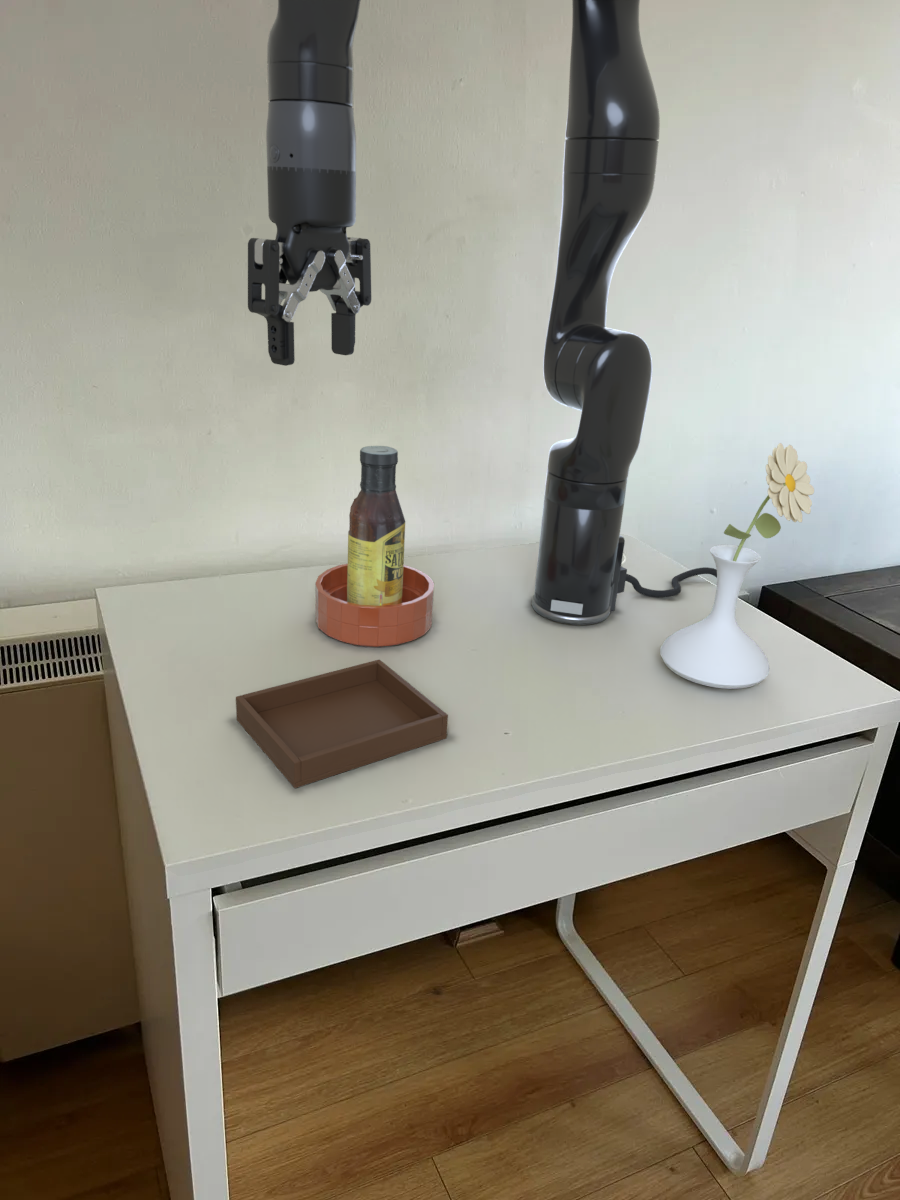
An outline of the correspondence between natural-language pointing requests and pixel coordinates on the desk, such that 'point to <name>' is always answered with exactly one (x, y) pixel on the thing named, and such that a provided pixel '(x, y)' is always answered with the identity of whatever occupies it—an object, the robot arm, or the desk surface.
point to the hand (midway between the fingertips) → (314, 358)
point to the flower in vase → (738, 590)
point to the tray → (339, 721)
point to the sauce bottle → (376, 532)
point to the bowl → (373, 610)
